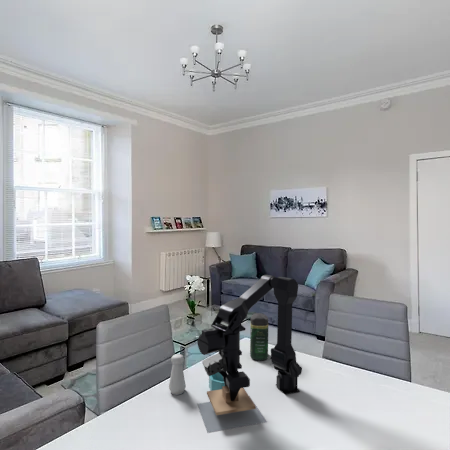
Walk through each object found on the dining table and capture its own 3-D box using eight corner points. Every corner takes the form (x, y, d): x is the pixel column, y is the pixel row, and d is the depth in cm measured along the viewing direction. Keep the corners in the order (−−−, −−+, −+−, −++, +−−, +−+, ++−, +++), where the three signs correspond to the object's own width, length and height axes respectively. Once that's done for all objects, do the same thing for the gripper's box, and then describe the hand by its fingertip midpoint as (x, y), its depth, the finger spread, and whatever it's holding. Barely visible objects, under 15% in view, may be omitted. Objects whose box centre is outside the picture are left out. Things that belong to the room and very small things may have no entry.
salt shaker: (182, 398, 110) (182, 359, 109) (166, 396, 111) (166, 358, 111) (187, 389, 115) (188, 353, 115) (172, 387, 116) (172, 351, 116)
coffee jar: (269, 361, 139) (269, 318, 139) (250, 360, 139) (250, 317, 139) (267, 352, 149) (267, 311, 148) (249, 351, 149) (250, 311, 149)
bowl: (232, 381, 121) (232, 368, 121) (240, 394, 112) (240, 380, 112) (207, 385, 119) (207, 371, 119) (213, 398, 110) (213, 384, 110)
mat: (249, 397, 110) (249, 395, 110) (267, 423, 96) (267, 421, 96) (196, 405, 105) (196, 403, 105) (207, 434, 91) (207, 432, 91)
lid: (242, 388, 108) (242, 377, 108) (255, 408, 96) (255, 395, 96) (206, 393, 105) (206, 382, 105) (216, 415, 93) (216, 402, 93)
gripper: (198, 338, 107) (198, 385, 107) (212, 362, 89) (212, 419, 89) (231, 335, 110) (230, 381, 110) (250, 357, 92) (250, 412, 92)
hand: (230, 397), depth 100 cm, fingers closed on lid, 4 cm apart
